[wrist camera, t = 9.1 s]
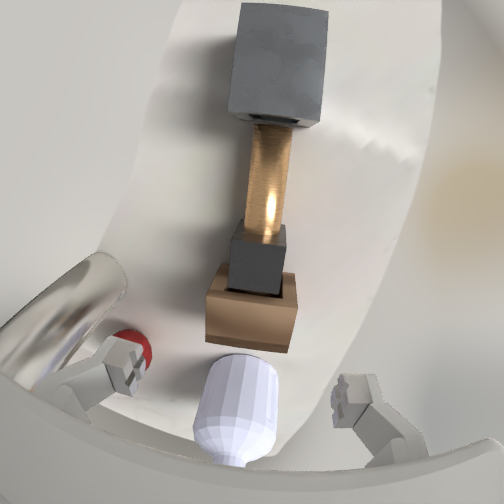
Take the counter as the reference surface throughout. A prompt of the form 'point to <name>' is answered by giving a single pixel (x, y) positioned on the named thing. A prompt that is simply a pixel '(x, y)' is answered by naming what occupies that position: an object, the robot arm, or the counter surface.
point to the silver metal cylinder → (60, 320)
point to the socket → (250, 315)
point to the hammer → (262, 216)
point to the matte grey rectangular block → (279, 64)
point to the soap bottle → (238, 410)
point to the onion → (137, 338)
